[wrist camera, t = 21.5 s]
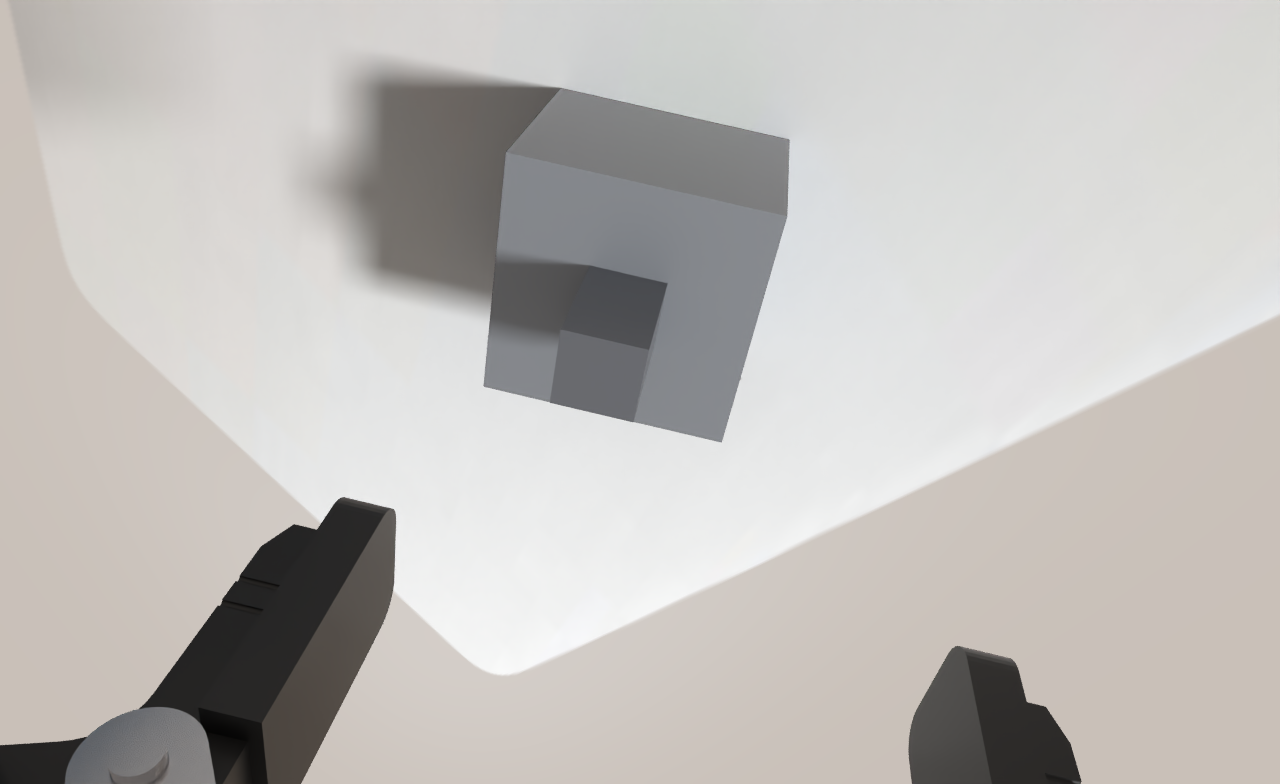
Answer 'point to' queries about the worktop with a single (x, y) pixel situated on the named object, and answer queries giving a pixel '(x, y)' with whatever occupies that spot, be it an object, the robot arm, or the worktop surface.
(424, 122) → the worktop surface
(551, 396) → the gray block with peg
